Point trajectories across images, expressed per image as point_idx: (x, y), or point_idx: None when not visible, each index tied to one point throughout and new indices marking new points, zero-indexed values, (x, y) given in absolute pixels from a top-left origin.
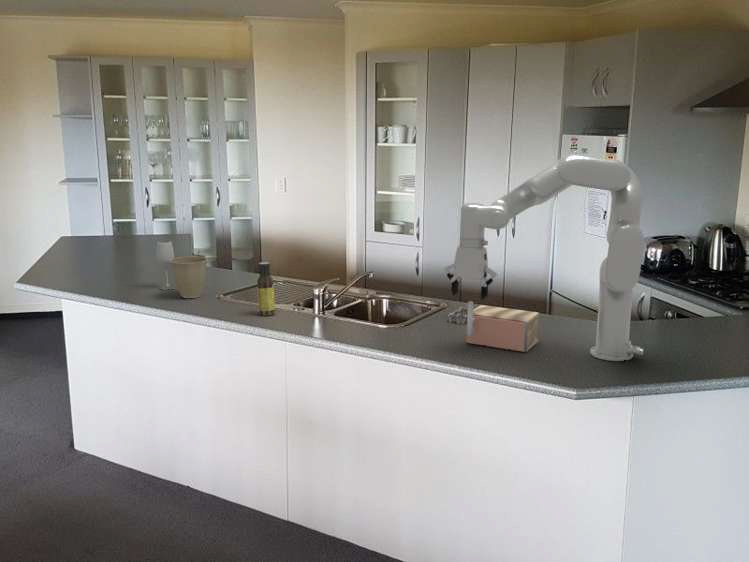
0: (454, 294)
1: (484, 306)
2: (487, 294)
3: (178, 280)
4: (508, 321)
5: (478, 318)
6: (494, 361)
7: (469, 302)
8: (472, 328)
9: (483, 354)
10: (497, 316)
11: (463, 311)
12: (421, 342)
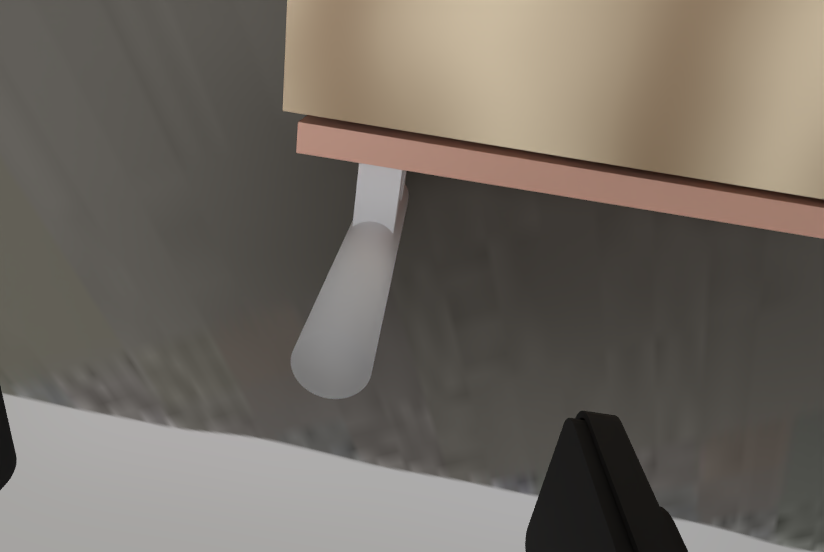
0: (12, 470)
1: None
2: (665, 518)
3: None
4: (816, 237)
5: (445, 173)
6: (599, 376)
7: (324, 395)
8: (404, 214)
9: (519, 284)
10: (689, 128)
11: None
12: (53, 178)
